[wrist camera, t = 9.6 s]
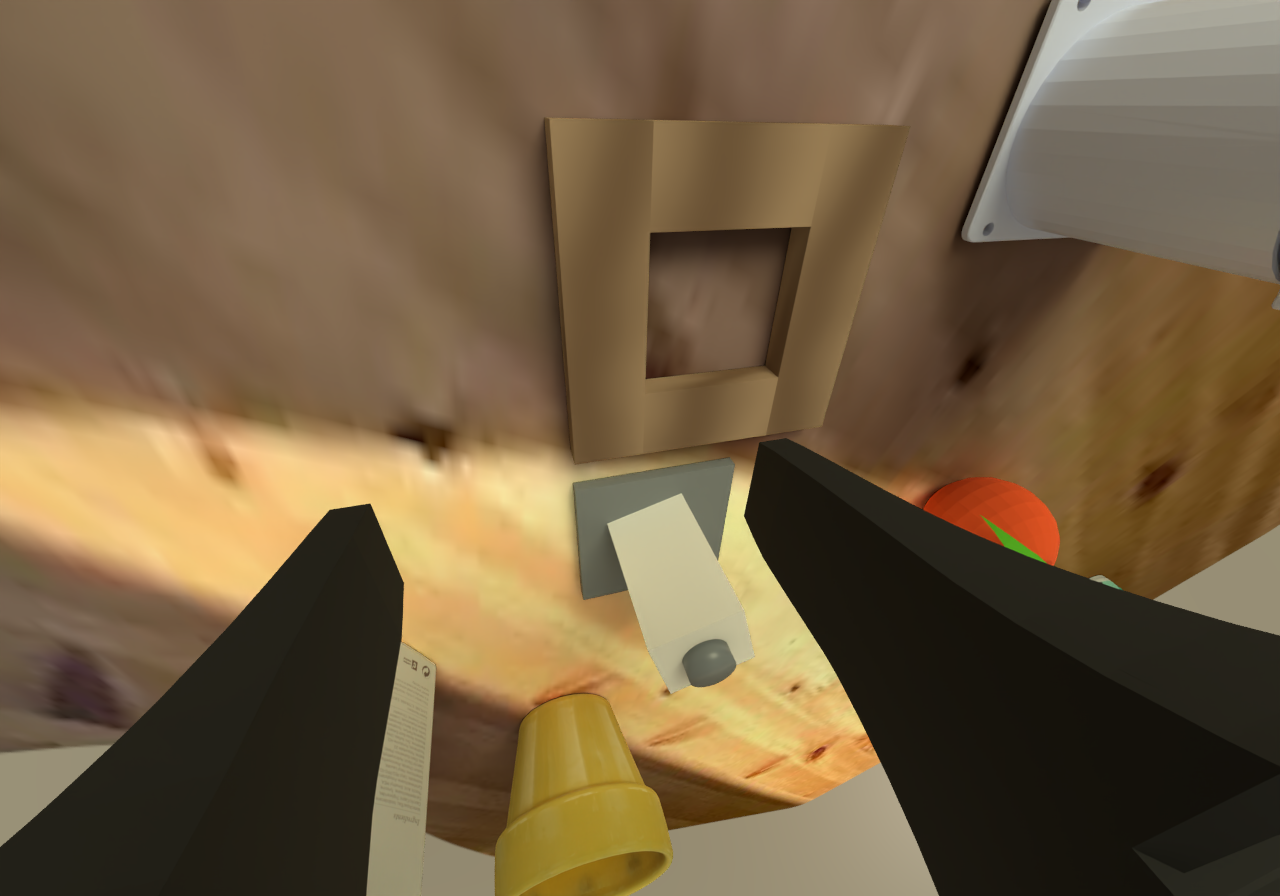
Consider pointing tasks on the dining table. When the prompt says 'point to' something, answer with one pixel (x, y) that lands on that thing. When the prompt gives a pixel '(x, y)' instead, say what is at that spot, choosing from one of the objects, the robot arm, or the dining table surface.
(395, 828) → the skincare box
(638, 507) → the coaster
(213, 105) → the dining table surface
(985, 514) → the clementine
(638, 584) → the plug
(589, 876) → the plant pot
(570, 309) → the holder
